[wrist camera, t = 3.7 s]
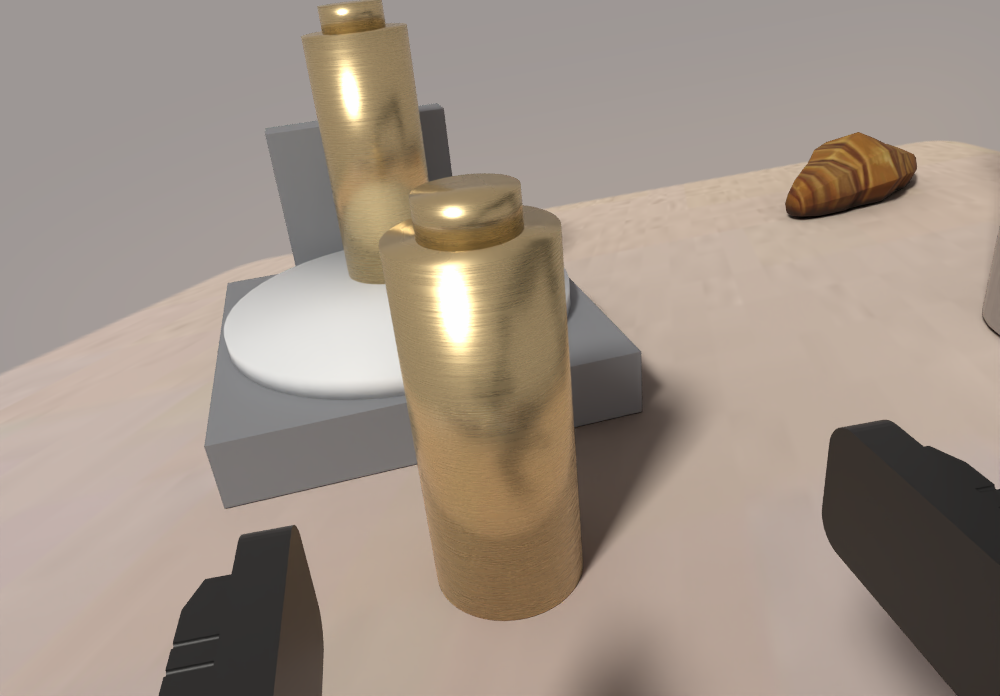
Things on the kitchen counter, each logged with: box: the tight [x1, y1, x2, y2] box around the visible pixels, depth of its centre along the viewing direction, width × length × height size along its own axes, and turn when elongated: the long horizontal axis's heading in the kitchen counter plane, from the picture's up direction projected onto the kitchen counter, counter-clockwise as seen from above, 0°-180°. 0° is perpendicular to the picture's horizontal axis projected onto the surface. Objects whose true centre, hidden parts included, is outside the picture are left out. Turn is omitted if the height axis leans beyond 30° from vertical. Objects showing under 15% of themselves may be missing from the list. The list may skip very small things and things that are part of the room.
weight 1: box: [301, 0, 429, 284], centre depth 39 cm, size 5×5×13 cm
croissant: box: [785, 132, 917, 216], centre depth 56 cm, size 14×7×5 cm, turn 123°
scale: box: [204, 103, 642, 508], centre depth 39 cm, size 18×21×11 cm
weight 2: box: [379, 173, 583, 621], centre depth 24 cm, size 5×5×13 cm
